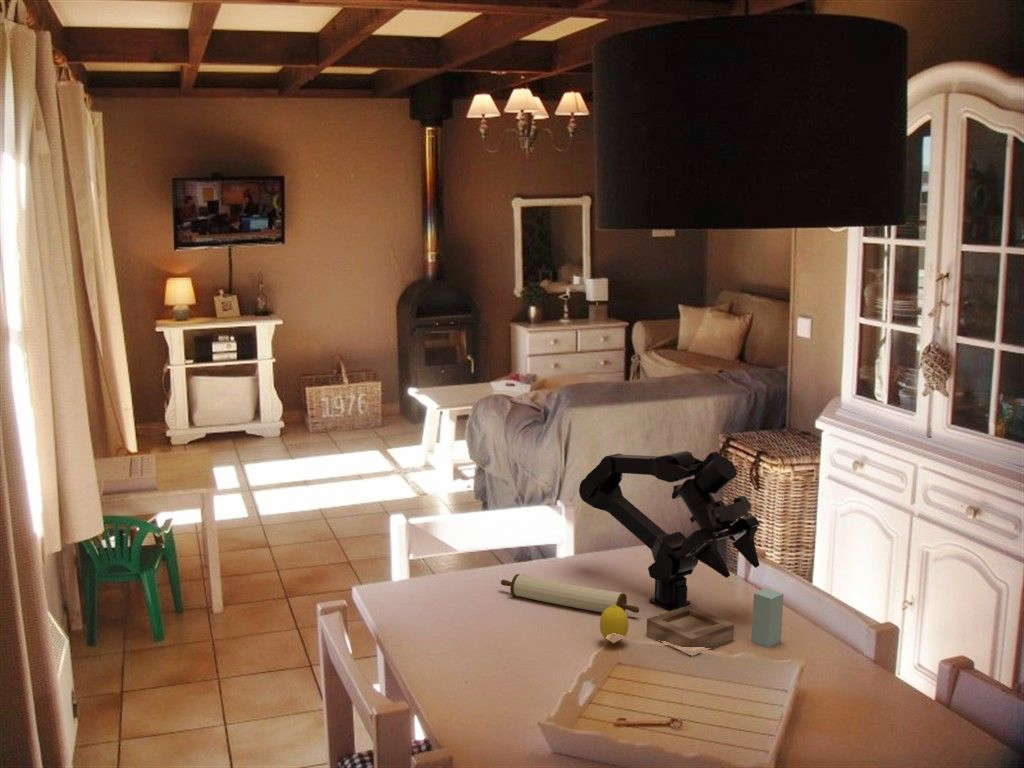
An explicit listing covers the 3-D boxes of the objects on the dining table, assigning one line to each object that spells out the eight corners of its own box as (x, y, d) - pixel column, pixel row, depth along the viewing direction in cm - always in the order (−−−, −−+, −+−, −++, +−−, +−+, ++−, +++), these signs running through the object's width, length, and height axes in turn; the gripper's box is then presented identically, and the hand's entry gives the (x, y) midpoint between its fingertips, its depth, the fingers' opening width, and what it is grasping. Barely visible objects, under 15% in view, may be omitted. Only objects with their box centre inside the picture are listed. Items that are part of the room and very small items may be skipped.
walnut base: (646, 635, 206) (647, 618, 206) (688, 621, 214) (688, 605, 213) (691, 656, 197) (692, 639, 196) (733, 640, 204) (734, 624, 204)
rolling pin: (495, 596, 226) (495, 575, 225) (506, 588, 231) (506, 567, 230) (634, 625, 212) (635, 601, 211) (643, 615, 217) (644, 592, 216)
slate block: (751, 641, 204) (754, 592, 203) (763, 635, 207) (766, 588, 205) (768, 647, 201) (770, 599, 200) (780, 642, 204) (783, 594, 202)
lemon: (626, 651, 199) (627, 611, 198) (597, 648, 200) (598, 609, 199) (629, 639, 204) (630, 601, 203) (601, 636, 205) (602, 598, 204)
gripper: (695, 492, 202) (737, 562, 196) (754, 477, 214) (797, 542, 207) (663, 521, 209) (703, 589, 203) (722, 505, 221) (762, 568, 215)
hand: (743, 571), depth 207 cm, fingers open, 9 cm apart
